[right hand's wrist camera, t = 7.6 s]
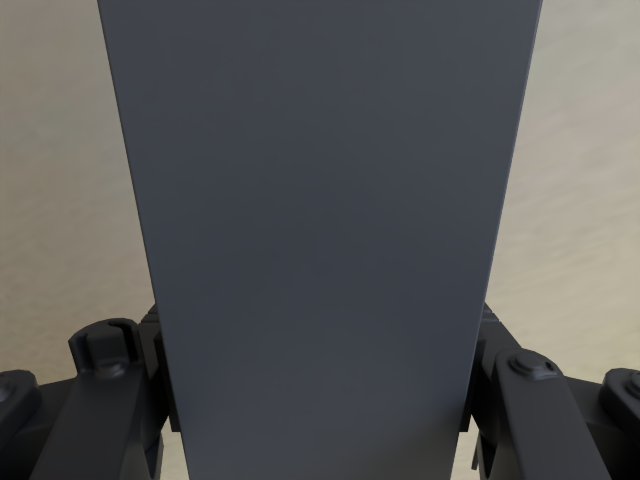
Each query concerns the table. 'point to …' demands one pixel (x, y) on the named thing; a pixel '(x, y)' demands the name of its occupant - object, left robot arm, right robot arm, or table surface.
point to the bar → (319, 219)
